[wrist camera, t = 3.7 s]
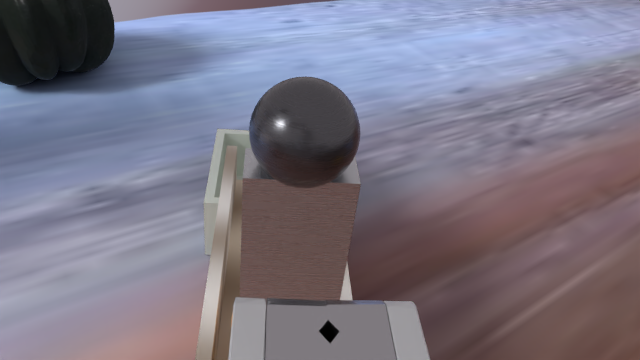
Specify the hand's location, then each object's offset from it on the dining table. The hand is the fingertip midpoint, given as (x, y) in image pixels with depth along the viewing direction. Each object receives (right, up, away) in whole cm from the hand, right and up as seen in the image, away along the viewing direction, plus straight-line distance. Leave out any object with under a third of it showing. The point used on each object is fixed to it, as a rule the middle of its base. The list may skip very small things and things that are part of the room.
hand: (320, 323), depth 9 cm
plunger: (-2, -7, +12) cm, 14 cm away
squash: (-29, +14, +48) cm, 58 cm away
